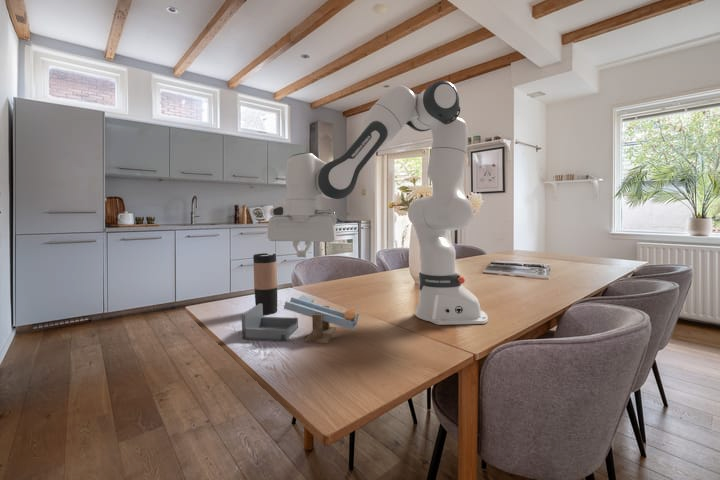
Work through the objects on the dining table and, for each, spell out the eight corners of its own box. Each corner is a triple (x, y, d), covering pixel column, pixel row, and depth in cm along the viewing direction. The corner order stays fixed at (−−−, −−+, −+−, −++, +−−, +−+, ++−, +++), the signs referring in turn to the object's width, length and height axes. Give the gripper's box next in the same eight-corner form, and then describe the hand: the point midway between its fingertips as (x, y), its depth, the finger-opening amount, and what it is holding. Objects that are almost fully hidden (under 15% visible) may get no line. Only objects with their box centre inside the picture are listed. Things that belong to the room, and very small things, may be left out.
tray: (298, 327, 103) (297, 304, 103) (284, 341, 93) (283, 315, 92) (260, 326, 105) (259, 303, 105) (242, 339, 94) (241, 314, 94)
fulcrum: (336, 329, 101) (335, 305, 101) (327, 343, 91) (326, 316, 90) (316, 328, 102) (315, 304, 102) (305, 342, 92) (304, 315, 91)
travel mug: (257, 316, 115) (255, 256, 113) (253, 310, 122) (251, 254, 120) (280, 313, 119) (278, 254, 117) (275, 307, 125) (273, 252, 124)
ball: (355, 320, 96) (357, 309, 96) (353, 324, 93) (355, 312, 93) (344, 318, 97) (346, 307, 97) (342, 321, 94) (343, 310, 93)
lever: (360, 316, 104) (362, 307, 104) (353, 330, 92) (356, 320, 92) (298, 297, 107) (300, 288, 107) (283, 308, 95) (286, 298, 95)
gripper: (338, 209, 103) (339, 256, 104) (273, 209, 106) (274, 254, 107) (333, 209, 97) (334, 258, 98) (264, 209, 100) (265, 257, 101)
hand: (302, 256), depth 102 cm, fingers closed
